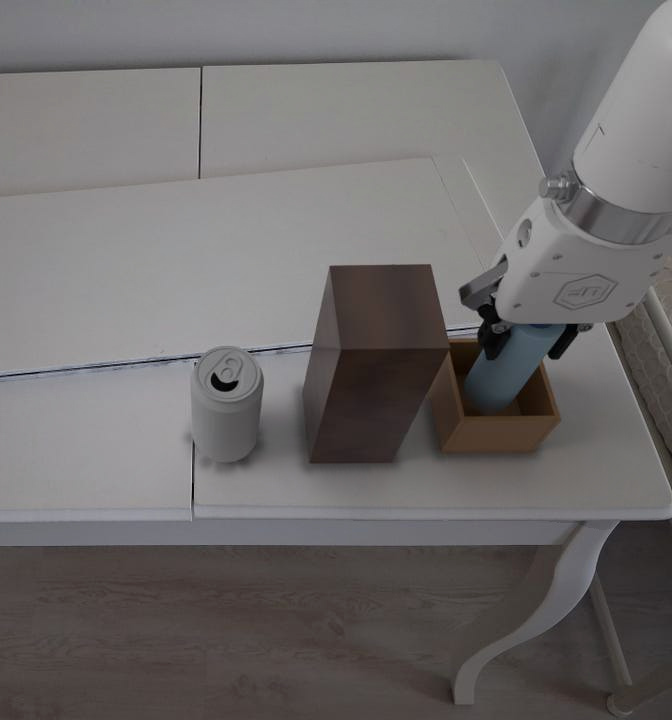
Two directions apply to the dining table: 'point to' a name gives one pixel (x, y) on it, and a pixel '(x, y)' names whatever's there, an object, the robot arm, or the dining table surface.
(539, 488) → the dining table surface
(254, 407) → the beverage can
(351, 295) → the plinth
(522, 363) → the bottle
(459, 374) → the open wooden box
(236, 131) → the dining table surface
